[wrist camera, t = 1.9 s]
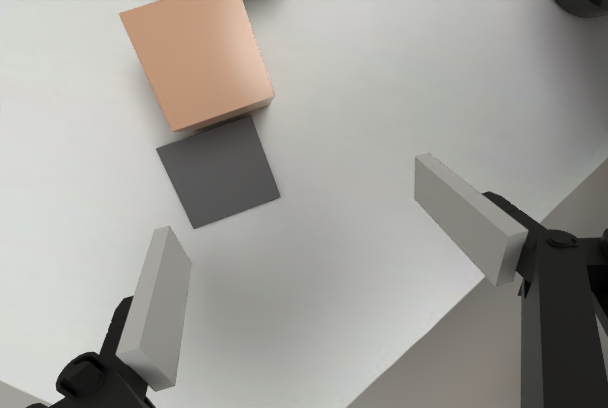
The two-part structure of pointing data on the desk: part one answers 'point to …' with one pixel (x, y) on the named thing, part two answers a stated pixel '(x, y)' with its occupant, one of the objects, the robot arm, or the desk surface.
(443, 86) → the desk surface
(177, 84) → the peach salmon cube
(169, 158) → the coaster
